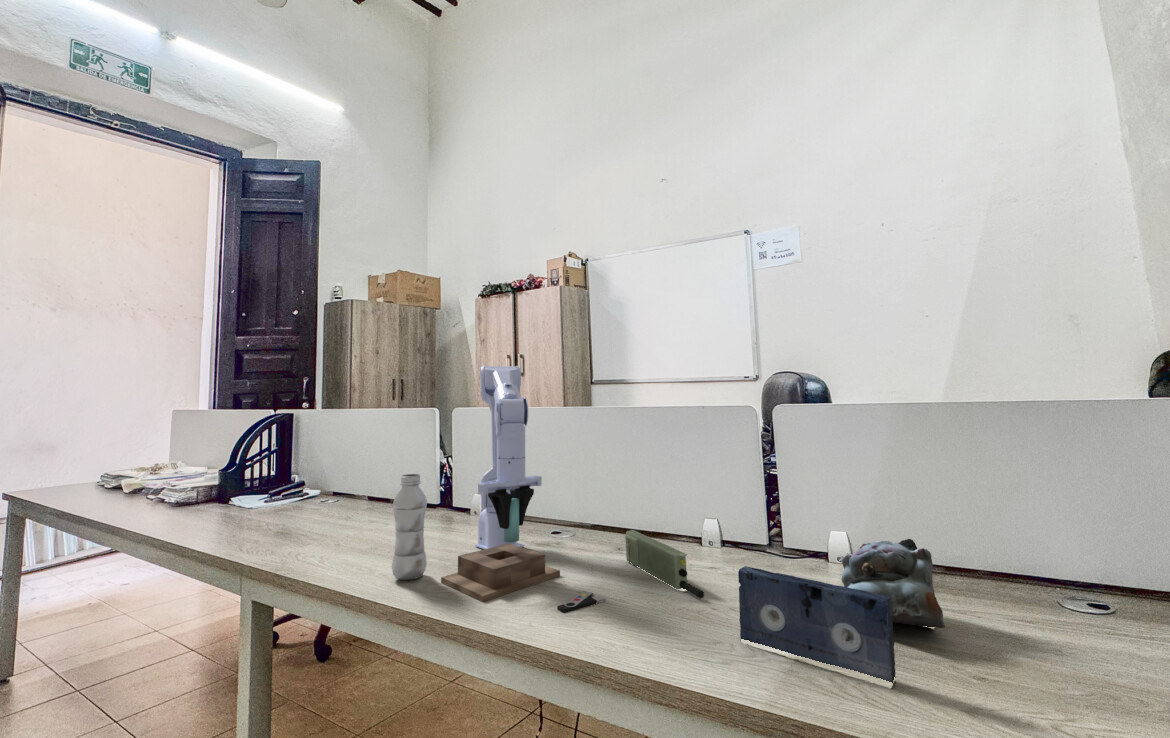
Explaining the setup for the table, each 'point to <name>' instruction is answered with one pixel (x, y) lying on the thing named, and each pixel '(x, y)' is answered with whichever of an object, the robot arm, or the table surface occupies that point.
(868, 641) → the vhs cassette tape
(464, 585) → the socket board
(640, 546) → the handheld radio
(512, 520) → the peg
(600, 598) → the usb flash drive
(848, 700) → the table surface
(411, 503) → the plastic bottle
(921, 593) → the lucky cat figurine
